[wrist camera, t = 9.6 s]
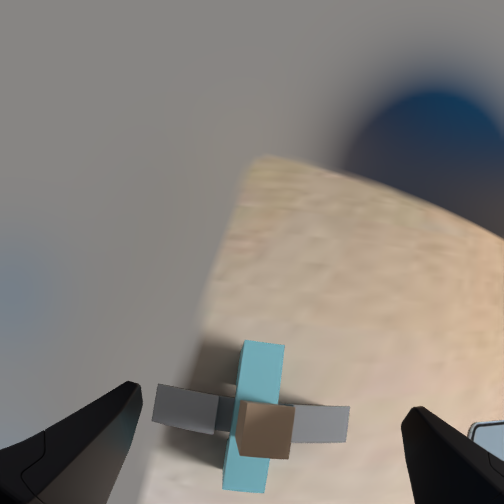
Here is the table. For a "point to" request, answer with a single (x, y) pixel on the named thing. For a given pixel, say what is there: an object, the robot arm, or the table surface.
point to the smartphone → (489, 436)
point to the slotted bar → (221, 410)
